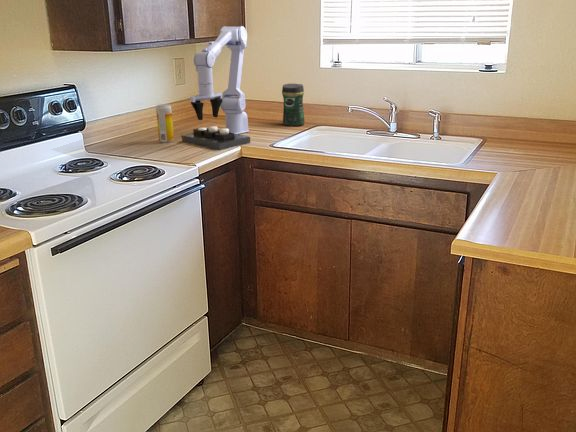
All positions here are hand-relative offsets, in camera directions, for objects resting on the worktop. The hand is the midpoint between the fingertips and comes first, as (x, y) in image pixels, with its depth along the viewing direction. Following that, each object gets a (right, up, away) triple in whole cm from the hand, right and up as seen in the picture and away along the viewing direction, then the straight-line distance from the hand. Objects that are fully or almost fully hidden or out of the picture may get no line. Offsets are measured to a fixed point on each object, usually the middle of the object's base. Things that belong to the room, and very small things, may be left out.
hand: (207, 118), depth 233 cm
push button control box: (+2, -9, +5) cm, 10 cm away
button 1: (-3, -5, +7) cm, 9 cm away
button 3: (+7, -7, -3) cm, 10 cm away
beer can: (-18, -8, +7) cm, 21 cm away
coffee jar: (+35, +3, +35) cm, 49 cm away
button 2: (+2, -5, +2) cm, 6 cm away
